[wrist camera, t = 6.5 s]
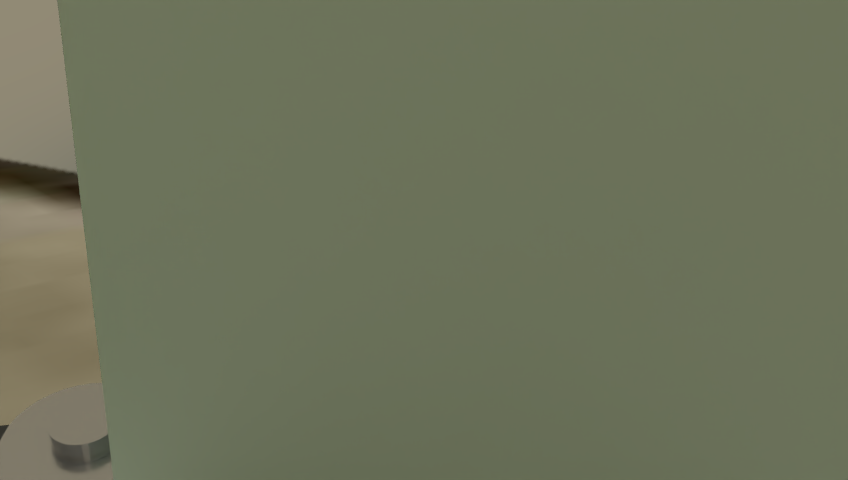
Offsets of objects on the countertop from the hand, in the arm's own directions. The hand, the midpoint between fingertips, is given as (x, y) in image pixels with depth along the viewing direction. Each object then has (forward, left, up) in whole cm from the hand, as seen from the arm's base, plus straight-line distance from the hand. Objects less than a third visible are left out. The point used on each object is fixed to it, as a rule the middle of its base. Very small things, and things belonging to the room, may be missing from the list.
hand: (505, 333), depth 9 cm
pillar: (0, -3, -7) cm, 7 cm away
